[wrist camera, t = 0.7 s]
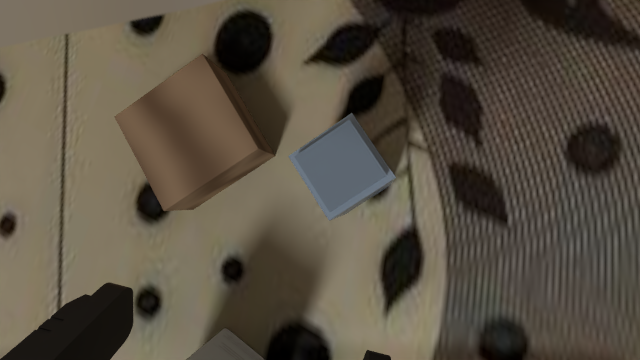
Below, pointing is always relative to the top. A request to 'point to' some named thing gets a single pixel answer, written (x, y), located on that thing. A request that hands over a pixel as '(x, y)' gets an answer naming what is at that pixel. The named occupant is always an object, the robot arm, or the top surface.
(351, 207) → the pale blue upright prism
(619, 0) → the top surface
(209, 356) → the supplement box
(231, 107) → the walnut box
